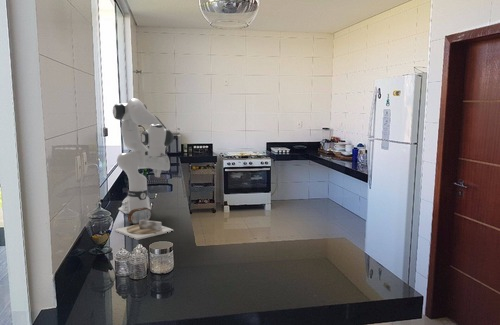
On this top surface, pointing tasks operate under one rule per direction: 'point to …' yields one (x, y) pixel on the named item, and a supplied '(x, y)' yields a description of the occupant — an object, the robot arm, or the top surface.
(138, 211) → the bread slice
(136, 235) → the white flat square board
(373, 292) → the top surface
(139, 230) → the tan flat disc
